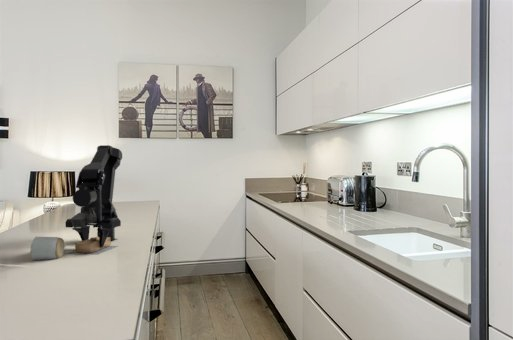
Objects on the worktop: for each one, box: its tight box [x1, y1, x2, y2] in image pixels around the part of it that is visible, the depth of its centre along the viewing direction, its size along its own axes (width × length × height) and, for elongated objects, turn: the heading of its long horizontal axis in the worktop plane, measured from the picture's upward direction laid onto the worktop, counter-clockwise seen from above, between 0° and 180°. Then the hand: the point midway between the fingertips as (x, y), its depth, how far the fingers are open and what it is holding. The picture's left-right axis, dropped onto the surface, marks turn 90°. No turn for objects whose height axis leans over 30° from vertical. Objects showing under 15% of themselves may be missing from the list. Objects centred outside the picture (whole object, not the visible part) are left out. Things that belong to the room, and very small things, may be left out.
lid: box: [74, 236, 112, 253], centre depth 126 cm, size 11×6×4 cm, turn 167°
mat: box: [67, 245, 119, 255], centre depth 126 cm, size 12×12×1 cm
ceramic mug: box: [29, 236, 66, 261], centre depth 117 cm, size 11×8×8 cm
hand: (93, 246), depth 126 cm, fingers closed on lid, 6 cm apart
